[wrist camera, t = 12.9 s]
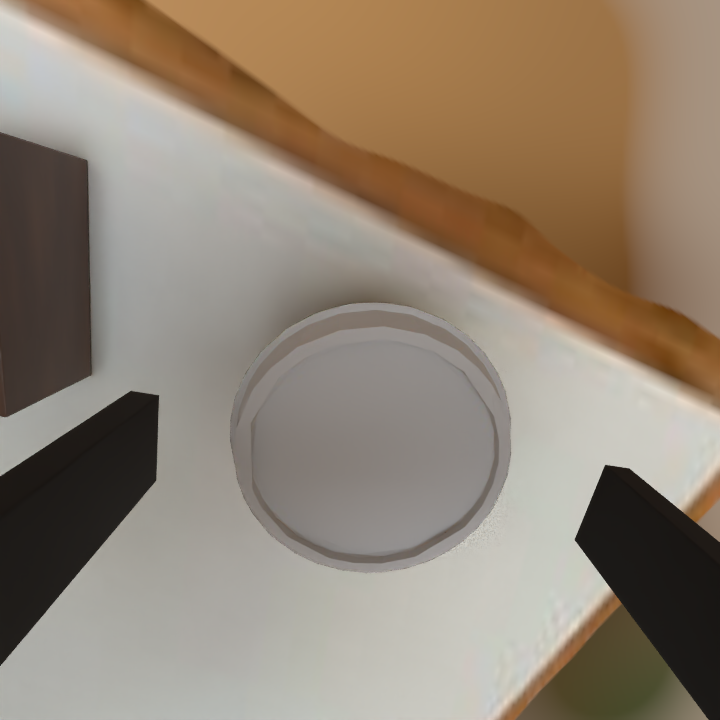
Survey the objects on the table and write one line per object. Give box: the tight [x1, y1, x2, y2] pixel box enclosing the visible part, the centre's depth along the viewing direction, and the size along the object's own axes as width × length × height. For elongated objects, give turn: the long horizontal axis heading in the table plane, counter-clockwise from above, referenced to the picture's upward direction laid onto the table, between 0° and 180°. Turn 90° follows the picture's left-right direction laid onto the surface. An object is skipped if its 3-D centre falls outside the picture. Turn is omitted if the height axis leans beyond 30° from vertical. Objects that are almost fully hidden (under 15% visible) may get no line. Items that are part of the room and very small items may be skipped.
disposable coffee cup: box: [230, 303, 511, 573], centre depth 18 cm, size 10×10×12 cm
